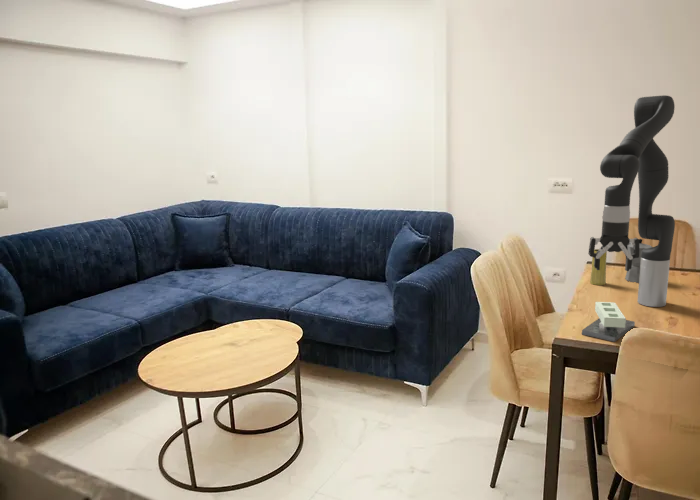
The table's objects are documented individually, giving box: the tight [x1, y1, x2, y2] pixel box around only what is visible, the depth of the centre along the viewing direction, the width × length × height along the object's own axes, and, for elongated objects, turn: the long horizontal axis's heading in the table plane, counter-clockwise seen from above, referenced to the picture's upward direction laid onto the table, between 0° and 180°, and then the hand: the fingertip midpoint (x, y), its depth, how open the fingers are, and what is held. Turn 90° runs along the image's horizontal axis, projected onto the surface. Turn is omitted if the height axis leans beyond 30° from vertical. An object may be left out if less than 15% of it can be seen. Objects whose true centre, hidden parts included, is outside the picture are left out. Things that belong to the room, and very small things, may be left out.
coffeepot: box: [624, 238, 653, 284], centre depth 226 cm, size 15×9×18 cm, turn 13°
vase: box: [589, 248, 608, 286], centre depth 223 cm, size 6×6×14 cm
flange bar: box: [594, 301, 627, 328], centre depth 171 cm, size 16×6×3 cm, turn 165°
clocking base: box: [581, 317, 636, 343], centre depth 172 cm, size 18×10×6 cm, turn 135°
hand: (612, 270), depth 168 cm, fingers open, 8 cm apart
